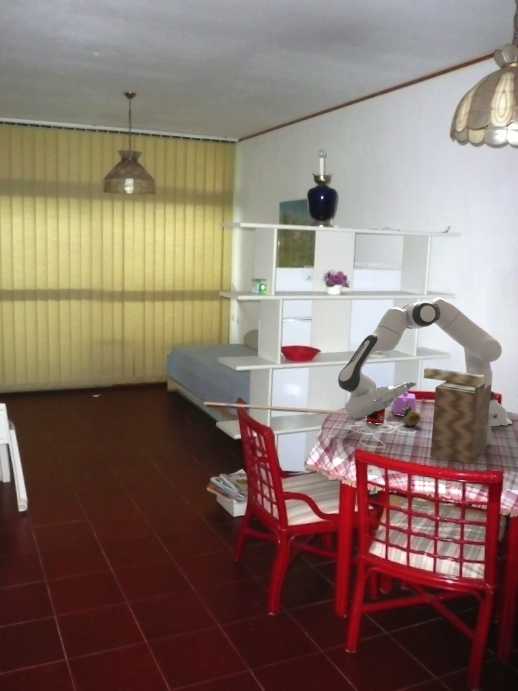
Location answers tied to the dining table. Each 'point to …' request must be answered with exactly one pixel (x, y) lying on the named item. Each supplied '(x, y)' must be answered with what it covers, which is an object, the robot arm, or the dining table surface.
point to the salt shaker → (489, 431)
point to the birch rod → (453, 376)
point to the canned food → (376, 416)
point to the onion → (411, 417)
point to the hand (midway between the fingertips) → (410, 385)
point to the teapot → (404, 403)
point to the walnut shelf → (460, 421)
